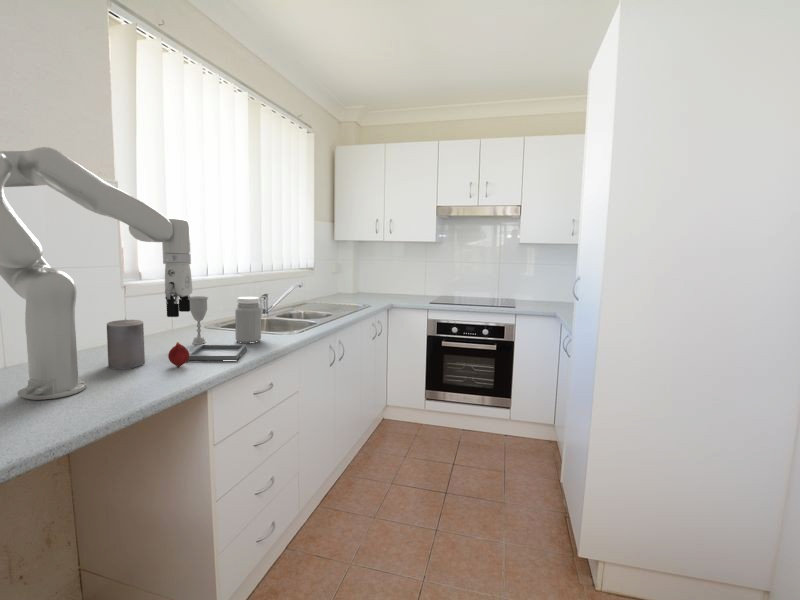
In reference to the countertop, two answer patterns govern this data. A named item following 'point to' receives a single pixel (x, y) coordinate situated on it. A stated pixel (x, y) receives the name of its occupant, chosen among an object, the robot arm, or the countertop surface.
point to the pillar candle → (125, 344)
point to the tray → (216, 352)
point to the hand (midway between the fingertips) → (179, 314)
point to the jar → (248, 319)
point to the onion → (178, 355)
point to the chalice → (198, 314)
